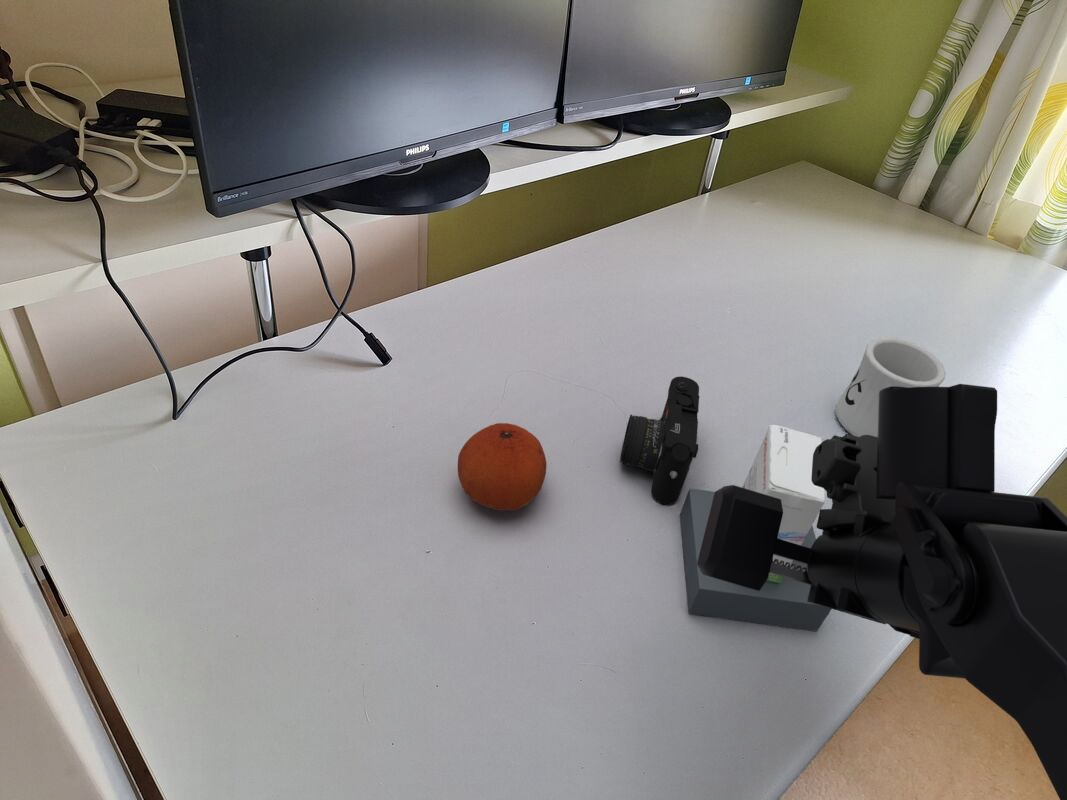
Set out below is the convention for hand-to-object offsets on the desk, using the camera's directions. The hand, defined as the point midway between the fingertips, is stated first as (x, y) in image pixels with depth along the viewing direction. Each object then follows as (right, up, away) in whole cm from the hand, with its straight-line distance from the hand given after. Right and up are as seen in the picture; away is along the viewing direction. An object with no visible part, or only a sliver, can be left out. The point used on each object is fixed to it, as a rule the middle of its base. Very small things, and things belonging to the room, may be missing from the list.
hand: (792, 560), depth 59 cm
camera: (-7, +6, +25) cm, 27 cm away
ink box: (+1, -1, +13) cm, 13 cm away
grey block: (0, -4, +15) cm, 16 cm away
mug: (+21, +8, +33) cm, 40 cm away
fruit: (-24, +3, +19) cm, 31 cm away
